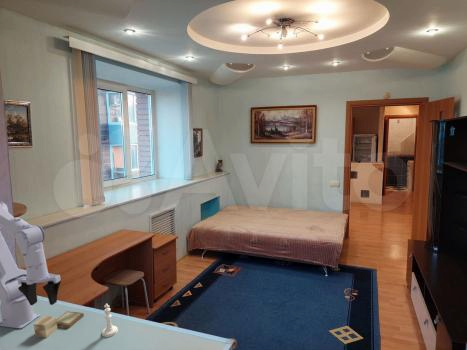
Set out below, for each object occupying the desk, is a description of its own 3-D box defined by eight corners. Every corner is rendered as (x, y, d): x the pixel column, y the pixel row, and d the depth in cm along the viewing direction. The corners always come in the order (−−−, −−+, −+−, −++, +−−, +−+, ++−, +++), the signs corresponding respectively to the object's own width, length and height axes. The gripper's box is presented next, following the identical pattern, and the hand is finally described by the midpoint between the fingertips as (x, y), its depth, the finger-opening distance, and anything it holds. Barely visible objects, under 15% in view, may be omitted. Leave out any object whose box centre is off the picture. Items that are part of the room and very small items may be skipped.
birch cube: (35, 336, 104) (33, 323, 104) (46, 328, 108) (44, 316, 108) (46, 338, 103) (44, 325, 102) (57, 329, 107) (55, 317, 107)
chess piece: (112, 337, 101) (109, 308, 100) (98, 336, 102) (95, 307, 101) (120, 328, 106) (117, 300, 105) (107, 327, 107) (104, 299, 106)
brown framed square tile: (52, 325, 109) (51, 322, 109) (67, 314, 116) (67, 311, 116) (69, 328, 108) (68, 324, 107) (83, 316, 114) (83, 312, 114)
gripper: (6, 270, 100) (14, 310, 102) (45, 268, 97) (53, 309, 99) (24, 261, 107) (32, 299, 108) (61, 259, 104) (69, 298, 106)
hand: (43, 303), depth 104 cm, fingers open, 7 cm apart
